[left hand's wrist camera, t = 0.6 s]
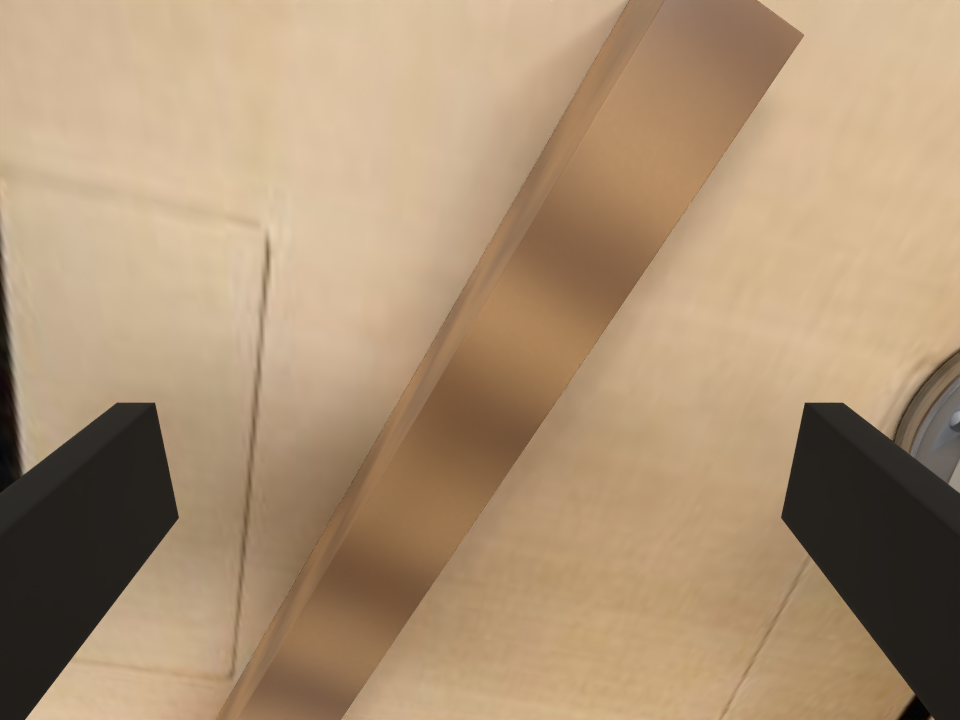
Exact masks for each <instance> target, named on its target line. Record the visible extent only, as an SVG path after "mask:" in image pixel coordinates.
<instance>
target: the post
mask: <svg viewBox="0 0 960 720" xmlns="http://www.w3.org/2000/svg"><path fill="white" fill-rule="evenodd" d="M803 36H804V34H802V33H801V32H800V31H798V30H797V29H796V28H794V27H793V26H791V25H790V24H789V23H787V22H786V21H785V20H783V19H782V18H781V17H779V16H778V15H776V14H775V13H774V12H772V11H771V10H770V9H768V8H767V7H765V6H764V5H763V4H761V3H760V2H759V1H757V0H629V2H628V4H627V5H626V7H625V9H624V11H623V12H622V14H621V16H620V18H619V19H618V21H617V23H616V25H615V26H614V28H613V30H612V32H611V33H610V35H609V37H608V39H607V40H606V42H605V44H604V45H603V47H602V49H601V51H600V52H599V54H598V56H597V58H596V59H595V61H594V63H593V65H592V66H591V68H590V70H589V72H588V73H587V75H586V77H585V79H584V80H583V82H582V84H581V85H580V87H579V89H578V91H577V92H576V94H575V96H574V98H573V99H572V101H571V103H570V105H569V106H568V108H567V110H566V112H565V113H564V115H563V117H562V119H561V120H560V122H559V124H558V125H557V127H556V129H555V131H554V132H553V134H552V136H551V138H550V139H549V141H548V143H547V145H546V146H545V148H544V150H543V152H542V153H541V155H540V157H539V159H538V160H537V162H536V164H535V165H534V167H533V169H532V171H531V172H530V174H529V176H528V178H527V179H526V181H525V183H524V185H523V186H522V188H521V190H520V192H519V193H518V195H517V197H516V198H515V200H514V202H513V204H512V205H511V207H510V209H509V211H508V212H507V214H506V216H505V218H504V219H503V221H502V223H501V225H500V226H499V228H498V230H497V232H496V233H495V235H494V237H493V238H492V240H491V242H490V244H489V245H488V247H487V249H486V251H485V252H484V254H483V256H482V258H481V259H480V261H479V263H478V265H477V266H476V268H475V270H474V272H473V273H472V275H471V277H470V278H469V280H468V282H467V284H466V285H465V287H464V289H463V291H462V292H461V294H460V296H459V298H458V299H457V301H456V303H455V305H454V306H453V308H452V310H451V312H450V313H449V315H448V317H447V318H446V320H445V322H444V324H443V325H442V327H441V329H440V331H439V332H438V334H437V336H436V338H435V339H434V341H433V343H432V345H431V346H430V348H429V350H428V352H427V353H426V355H425V357H424V358H423V360H422V362H421V364H420V365H419V367H418V369H417V371H416V372H415V374H414V376H413V378H412V379H411V381H410V383H409V385H408V386H407V388H406V390H405V392H404V393H403V395H402V397H401V398H400V400H399V402H398V404H397V405H396V407H395V409H394V411H393V412H392V414H391V416H390V418H389V419H388V421H387V423H386V425H385V426H384V428H383V430H382V431H381V433H380V435H379V437H378V438H377V440H376V442H375V444H374V445H373V447H372V449H371V451H370V452H369V454H368V456H367V458H366V459H365V461H364V463H363V465H362V466H361V468H360V470H359V471H358V473H357V475H356V477H355V478H354V480H353V482H352V484H351V485H350V487H349V489H348V491H347V492H346V494H345V496H344V498H343V499H342V501H341V503H340V505H339V506H338V508H337V510H336V511H335V513H334V515H333V517H332V518H331V520H330V522H329V524H328V525H327V527H326V529H325V531H324V532H323V534H322V536H321V538H320V539H319V541H318V543H317V545H316V546H315V548H314V550H313V551H312V553H311V555H310V557H309V558H308V560H307V562H306V564H305V565H304V567H303V569H302V571H301V572H300V574H299V576H298V578H297V579H296V581H295V583H294V585H293V586H292V588H291V590H290V591H289V593H288V595H287V597H286V598H285V600H284V602H283V604H282V605H281V607H280V609H279V611H278V612H277V614H276V616H275V618H274V619H273V621H272V623H271V624H270V626H269V628H268V630H267V631H266V633H265V635H264V637H263V638H262V640H261V642H260V644H259V645H258V647H257V649H256V651H255V652H254V654H253V656H252V658H251V659H250V661H249V663H248V664H247V666H246V668H245V670H244V671H243V673H242V675H241V677H240V678H239V680H238V682H237V684H236V685H235V687H234V689H233V691H232V692H231V694H230V696H229V698H228V699H227V701H226V703H225V704H224V706H223V708H222V710H221V711H220V713H219V715H218V717H217V718H216V720H341V719H342V717H343V716H344V714H345V713H346V711H347V710H348V708H349V707H350V705H351V704H352V702H353V701H354V699H355V698H356V696H357V695H358V693H359V692H360V690H361V689H362V688H363V686H364V685H365V683H366V682H367V680H368V679H369V677H370V676H371V674H372V673H373V671H374V670H375V668H376V667H377V665H378V664H379V662H380V661H381V659H382V658H383V656H384V655H385V654H386V652H387V651H388V649H389V648H390V646H391V645H392V643H393V642H394V640H395V639H396V637H397V636H398V634H399V633H400V631H401V630H402V628H403V627H404V625H405V624H406V623H407V621H408V620H409V618H410V617H411V615H412V614H413V612H414V611H415V609H416V608H417V606H418V605H419V603H420V602H421V600H422V599H423V597H424V596H425V594H426V593H427V592H428V590H429V589H430V587H431V586H432V584H433V583H434V581H435V580H436V578H437V577H438V575H439V574H440V572H441V571H442V569H443V568H444V566H445V565H446V563H447V562H448V560H449V559H450V558H451V556H452V555H453V553H454V552H455V550H456V549H457V547H458V546H459V544H460V543H461V541H462V540H463V538H464V537H465V535H466V534H467V532H468V531H469V529H470V528H471V527H472V525H473V524H474V522H475V521H476V519H477V518H478V516H479V515H480V513H481V512H482V510H483V509H484V507H485V506H486V504H487V503H488V501H489V500H490V498H491V497H492V496H493V494H494V493H495V491H496V490H497V488H498V487H499V485H500V484H501V482H502V481H503V479H504V478H505V476H506V475H507V473H508V472H509V470H510V469H511V467H512V466H513V464H514V463H515V462H516V460H517V459H518V457H519V456H520V454H521V453H522V451H523V450H524V448H525V447H526V445H527V444H528V442H529V441H530V439H531V438H532V436H533V435H534V433H535V432H536V431H537V429H538V428H539V426H540V425H541V423H542V422H543V420H544V419H545V417H546V416H547V414H548V413H549V411H550V410H551V408H552V407H553V405H554V404H555V402H556V401H557V400H558V398H559V397H560V395H561V394H562V392H563V391H564V389H565V388H566V386H567V385H568V383H569V382H570V380H571V379H572V377H573V376H574V374H575V373H576V371H577V370H578V368H579V367H580V366H581V364H582V363H583V361H584V360H585V358H586V357H587V355H588V354H589V352H590V351H591V349H592V348H593V346H594V345H595V343H596V342H597V340H598V339H599V337H600V336H601V335H602V333H603V332H604V330H605V329H606V327H607V326H608V324H609V323H610V321H611V320H612V318H613V317H614V315H615V314H616V312H617V311H618V309H619V308H620V306H621V305H622V304H623V302H624V301H625V299H626V298H627V296H628V295H629V293H630V292H631V290H632V289H633V287H634V286H635V284H636V283H637V281H638V280H639V278H640V277H641V275H642V274H643V273H644V271H645V270H646V268H647V267H648V265H649V264H650V262H651V261H652V259H653V258H654V256H655V255H656V253H657V252H658V250H659V249H660V247H661V246H662V244H663V243H664V241H665V240H666V239H667V237H668V236H669V234H670V233H671V231H672V230H673V228H674V227H675V225H676V224H677V222H678V221H679V219H680V218H681V216H682V215H683V213H684V212H685V210H686V209H687V208H688V206H689V205H690V203H691V202H692V200H693V199H694V197H695V196H696V194H697V193H698V191H699V190H700V188H701V187H702V185H703V184H704V182H705V181H706V179H707V178H708V177H709V175H710V174H711V172H712V171H713V169H714V168H715V166H716V165H717V163H718V162H719V160H720V159H721V157H722V156H723V154H724V153H725V151H726V150H727V148H728V147H729V145H730V144H731V143H732V141H733V140H734V138H735V137H736V135H737V134H738V132H739V131H740V129H741V128H742V126H743V125H744V123H745V122H746V120H747V119H748V117H749V116H750V114H751V113H752V112H753V110H754V109H755V107H756V106H757V104H758V103H759V101H760V100H761V98H762V97H763V95H764V94H765V92H766V91H767V89H768V88H769V86H770V85H771V83H772V82H773V81H774V79H775V78H776V76H777V75H778V73H779V72H780V70H781V69H782V67H783V66H784V64H785V63H786V61H787V60H788V58H789V57H790V55H791V54H792V52H793V51H794V49H795V48H796V47H797V45H798V44H799V42H800V41H801V39H802V38H803Z"/></svg>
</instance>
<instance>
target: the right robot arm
mask: <svg viewBox="0 0 960 720" xmlns="http://www.w3.org/2000/svg"><path fill="white" fill-rule="evenodd" d="M894 443H896V444H897V445H898V446H899V447H901V448H902V449H903V450H905V451H906V452H907V453H909V454H910V455H911V456H912V457H914V458H915V459H916V460H918V461H919V462H920V463H921V464H923V465H924V466H925V467H927V468H928V469H929V470H931V471H932V472H933V473H934V474H936V475H937V476H938V477H940V478H941V479H942V480H943V481H945V482H946V483H947V484H949V485H950V486H951V487H952V488H954V489H955V490H956V491H958V492H959V493H960V352H958V353H957V354H956V355H954V356H953V357H952V358H951V359H950V360H948V361H947V362H946V363H945V364H944V365H943V366H942V367H940V368H939V369H938V370H937V371H936V372H935V373H934V374H933V375H932V376H931V378H930V379H929V380H928V381H927V382H926V383H925V384H924V386H923V387H922V388H921V390H920V391H919V392H918V393H917V395H916V396H915V398H914V399H913V401H912V402H911V404H910V406H909V407H908V409H907V411H906V413H905V415H904V417H903V419H902V421H901V424H900V426H899V428H898V431H897V435H896V438H895V442H894Z"/></svg>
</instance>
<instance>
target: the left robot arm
mask: <svg viewBox="0 0 960 720" xmlns="http://www.w3.org/2000/svg"><path fill="white" fill-rule="evenodd" d="M178 518H179V516H178V511H177V507H176V502H175V497H174V492H173V487H172V482H171V478H170V473H169V468H168V463H167V458H166V453H165V449H164V444H163V439H162V434H161V429H160V424H159V420H158V415H157V410H156V405H155V403H116V404H115V405H114V406H112V407H111V408H110V409H108V410H107V411H106V412H105V413H103V414H102V415H101V416H99V417H98V418H97V419H95V420H94V421H93V422H92V423H90V424H89V425H88V426H86V427H85V428H84V429H83V430H81V431H80V432H79V433H77V434H76V435H75V436H73V437H72V438H71V439H70V440H68V441H67V442H66V443H64V444H63V445H62V446H61V447H59V448H58V449H57V450H55V451H54V452H53V453H51V454H50V455H49V456H48V457H46V458H45V459H44V460H42V461H41V462H40V463H39V464H37V465H36V466H35V467H33V468H32V469H31V470H29V471H28V472H27V473H26V474H24V475H23V476H22V477H20V478H19V479H18V480H17V481H15V482H14V483H13V484H11V485H10V486H9V487H8V488H6V489H5V490H4V491H2V492H1V493H0V720H25V719H26V718H27V717H28V715H29V714H30V713H31V711H32V710H33V709H34V707H35V706H36V705H37V703H38V702H39V701H40V699H41V698H42V697H43V695H44V694H45V693H46V692H47V690H48V689H49V688H50V686H51V685H52V684H53V682H54V681H55V680H56V678H57V677H58V676H59V674H60V673H61V672H62V671H63V669H64V668H65V667H66V665H67V664H68V663H69V661H70V660H71V659H72V657H73V656H74V655H75V653H76V652H77V651H78V650H79V648H80V647H81V646H82V644H83V643H84V642H85V640H86V639H87V638H88V636H89V635H90V634H91V632H92V631H93V630H94V629H95V627H96V626H97V625H98V623H99V622H100V621H101V619H102V618H103V617H104V615H105V614H106V613H107V611H108V610H109V609H110V607H111V606H112V605H113V604H114V602H115V601H116V600H117V598H118V597H119V596H120V594H121V593H122V592H123V590H124V589H125V588H126V586H127V585H128V584H129V583H130V581H131V580H132V579H133V577H134V576H135V575H136V573H137V572H138V571H139V569H140V568H141V567H142V565H143V564H144V563H145V562H146V560H147V559H148V558H149V556H150V555H151V554H152V552H153V551H154V550H155V548H156V547H157V546H158V544H159V543H160V542H161V541H162V539H163V538H164V537H165V535H166V534H167V533H168V531H169V530H170V529H171V527H172V526H173V525H174V523H175V522H176V521H177V519H178ZM781 518H782V519H783V521H784V522H785V523H786V525H787V526H788V527H789V529H790V530H791V531H792V533H793V534H794V535H795V537H796V538H797V539H798V541H799V542H800V543H801V544H802V546H803V547H804V548H805V550H806V551H807V552H808V554H809V555H810V556H811V558H812V559H813V560H814V562H815V563H816V564H817V565H818V567H819V568H820V569H821V571H822V572H823V573H824V575H825V576H826V577H827V579H828V580H829V581H830V583H831V584H832V585H833V586H834V588H835V589H836V590H837V592H838V593H839V594H840V596H841V597H842V598H843V600H844V601H845V602H846V604H847V605H848V606H849V607H850V609H851V610H852V611H853V613H854V614H855V615H856V617H857V618H858V619H859V621H860V622H861V623H862V625H863V626H864V627H865V629H866V630H867V631H868V632H869V634H870V635H871V636H872V638H873V639H874V640H875V642H876V643H877V644H878V646H879V647H880V648H881V650H882V651H883V652H884V653H885V655H886V656H887V657H888V659H889V660H890V661H891V663H892V664H893V665H894V667H895V668H896V669H897V671H898V672H899V673H900V674H901V676H902V677H903V678H904V680H905V681H906V682H907V684H908V685H909V686H910V688H911V689H912V690H913V692H914V693H915V694H916V695H917V697H918V698H919V699H920V701H921V702H922V703H923V705H924V706H925V707H926V709H927V710H928V711H929V713H930V714H931V715H932V717H933V718H934V719H935V720H960V493H959V492H958V491H956V490H955V489H954V488H952V487H951V486H950V485H949V484H947V483H946V482H945V481H943V480H942V479H941V478H940V477H938V476H937V475H936V474H934V473H933V472H932V471H931V470H929V469H928V468H927V467H925V466H924V465H923V464H921V463H920V462H919V461H918V460H916V459H915V458H914V457H912V456H911V455H910V454H909V453H907V452H906V451H905V450H903V449H902V448H901V447H899V446H898V445H897V444H896V443H894V442H893V441H892V440H890V439H889V438H888V437H887V436H885V435H884V434H883V433H881V432H880V431H879V430H877V429H876V428H875V427H874V426H872V425H871V424H870V423H868V422H867V421H866V420H865V419H863V418H862V417H861V416H859V415H858V414H857V413H855V412H854V411H853V410H852V409H850V408H849V407H848V406H846V405H845V404H844V403H805V405H804V410H803V415H802V420H801V424H800V429H799V434H798V439H797V444H796V449H795V453H794V458H793V463H792V468H791V473H790V478H789V482H788V487H787V492H786V497H785V502H784V507H783V511H782V516H781Z"/></svg>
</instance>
